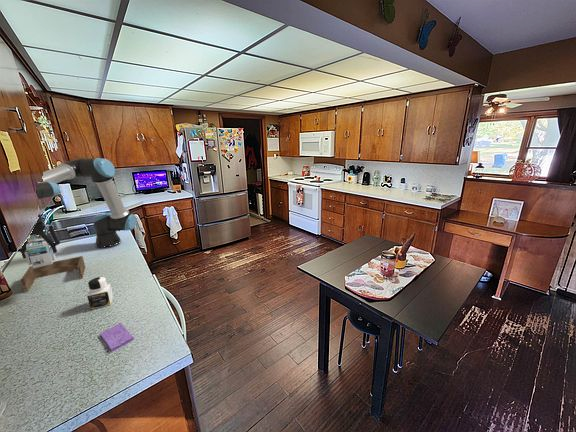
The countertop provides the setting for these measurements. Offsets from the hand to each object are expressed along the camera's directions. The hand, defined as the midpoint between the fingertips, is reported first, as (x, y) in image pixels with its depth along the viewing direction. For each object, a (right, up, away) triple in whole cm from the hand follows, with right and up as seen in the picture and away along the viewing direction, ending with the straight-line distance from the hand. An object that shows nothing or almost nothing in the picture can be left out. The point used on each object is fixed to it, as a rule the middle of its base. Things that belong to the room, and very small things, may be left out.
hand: (42, 261), depth 111 cm
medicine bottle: (+32, -18, -5) cm, 37 cm away
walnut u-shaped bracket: (-9, -12, +16) cm, 22 cm away
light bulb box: (0, -1, 0) cm, 1 cm away
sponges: (+54, -24, -25) cm, 64 cm away
